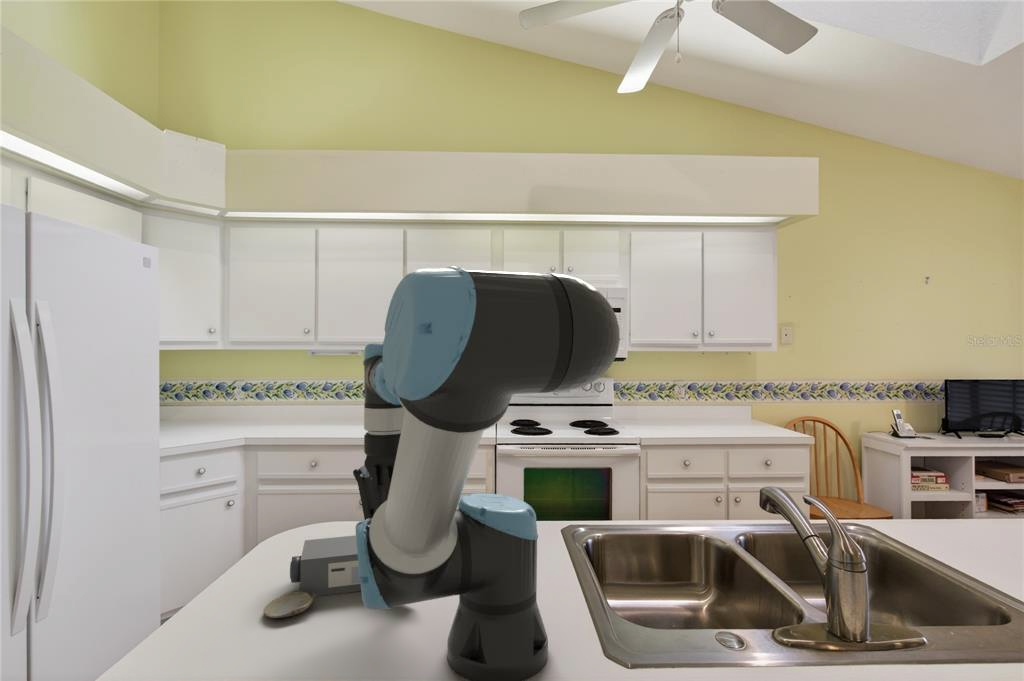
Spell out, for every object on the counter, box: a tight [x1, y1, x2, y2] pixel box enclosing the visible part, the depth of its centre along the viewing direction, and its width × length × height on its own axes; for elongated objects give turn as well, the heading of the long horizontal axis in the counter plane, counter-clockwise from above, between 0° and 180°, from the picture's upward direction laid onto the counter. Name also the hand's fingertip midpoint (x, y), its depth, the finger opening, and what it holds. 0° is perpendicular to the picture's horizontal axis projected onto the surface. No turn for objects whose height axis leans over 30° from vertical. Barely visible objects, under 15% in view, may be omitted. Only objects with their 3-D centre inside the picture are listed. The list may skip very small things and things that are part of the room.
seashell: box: [263, 590, 316, 619], centre depth 95 cm, size 8×3×8 cm
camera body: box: [289, 534, 361, 598], centre depth 106 cm, size 10×18×8 cm, turn 106°
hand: (386, 566), depth 95 cm, fingers closed
